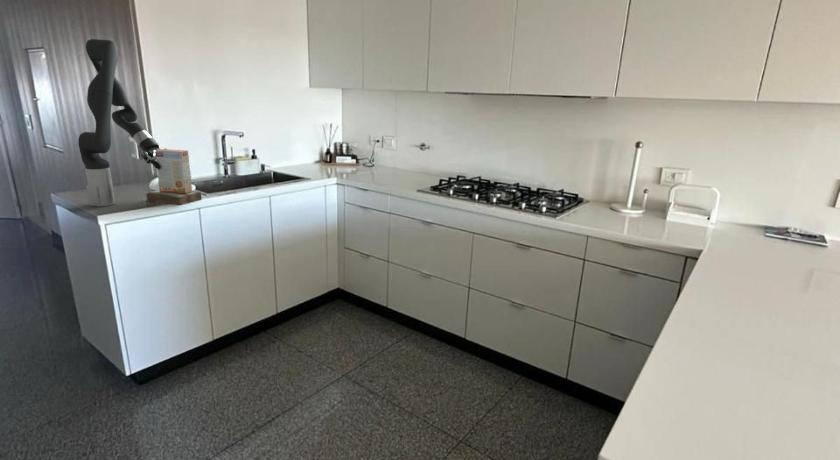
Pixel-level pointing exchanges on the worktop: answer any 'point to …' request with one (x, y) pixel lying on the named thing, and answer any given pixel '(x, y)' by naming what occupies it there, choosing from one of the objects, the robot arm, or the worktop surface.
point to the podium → (173, 197)
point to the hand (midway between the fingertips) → (167, 167)
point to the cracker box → (173, 171)
